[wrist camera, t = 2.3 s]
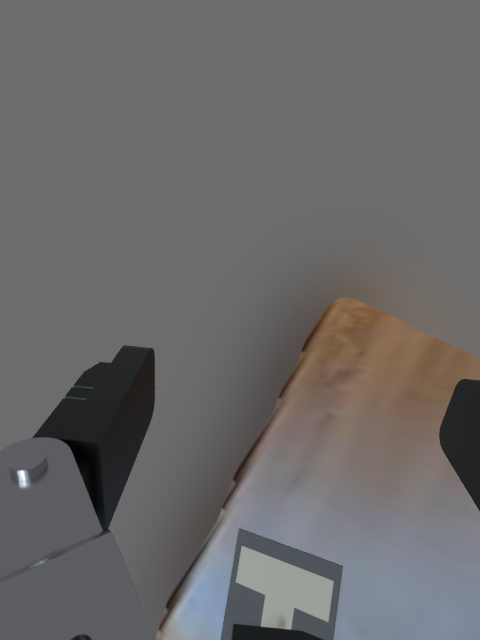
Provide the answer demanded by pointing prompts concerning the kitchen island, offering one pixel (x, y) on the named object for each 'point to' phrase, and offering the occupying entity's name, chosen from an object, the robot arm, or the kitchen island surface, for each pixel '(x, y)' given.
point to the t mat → (281, 588)
